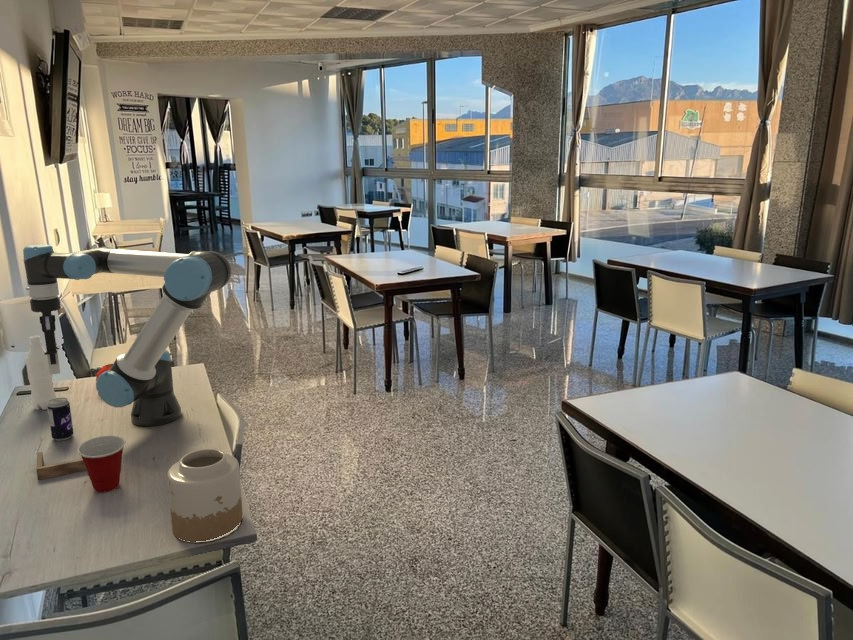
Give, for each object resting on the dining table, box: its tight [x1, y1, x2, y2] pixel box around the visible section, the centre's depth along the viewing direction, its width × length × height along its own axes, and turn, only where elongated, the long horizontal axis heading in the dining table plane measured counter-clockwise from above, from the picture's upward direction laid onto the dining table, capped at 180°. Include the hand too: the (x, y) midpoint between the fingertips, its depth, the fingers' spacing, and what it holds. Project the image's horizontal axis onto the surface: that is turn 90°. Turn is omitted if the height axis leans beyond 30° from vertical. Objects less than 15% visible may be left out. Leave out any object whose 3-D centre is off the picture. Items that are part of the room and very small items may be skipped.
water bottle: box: [25, 335, 57, 411], centre depth 204 cm, size 7×7×25 cm
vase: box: [166, 448, 244, 542], centre depth 138 cm, size 15×15×17 cm
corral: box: [35, 451, 87, 481], centre depth 166 cm, size 12×11×3 cm
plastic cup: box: [76, 434, 126, 493], centre depth 154 cm, size 11×11×12 cm
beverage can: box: [47, 397, 74, 441], centre depth 183 cm, size 6×6×12 cm
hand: (55, 372), depth 186 cm, fingers open, 2 cm apart
